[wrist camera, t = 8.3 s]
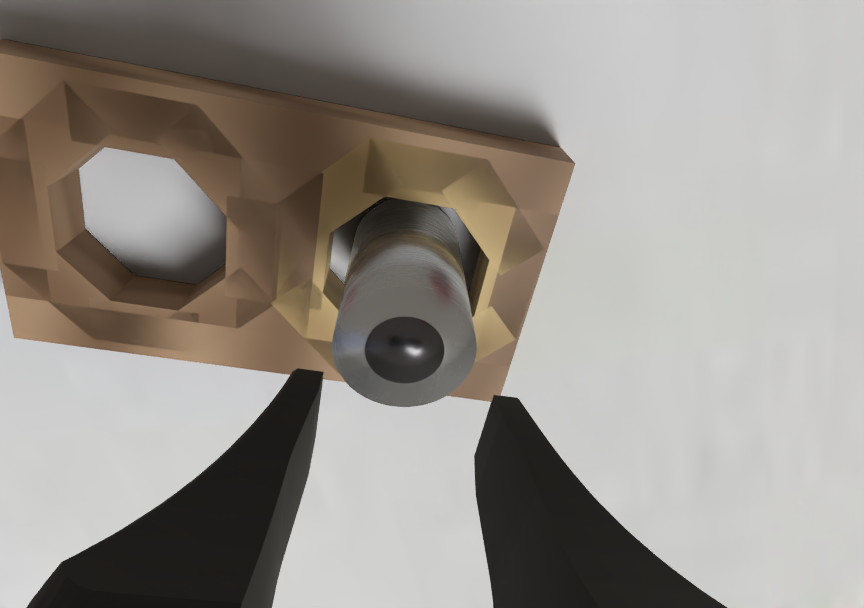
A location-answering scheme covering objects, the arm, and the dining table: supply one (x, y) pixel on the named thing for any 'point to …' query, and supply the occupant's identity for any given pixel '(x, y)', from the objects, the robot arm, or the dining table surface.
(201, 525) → the robot arm
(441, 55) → the dining table surface
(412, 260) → the bushing
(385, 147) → the jig plate
